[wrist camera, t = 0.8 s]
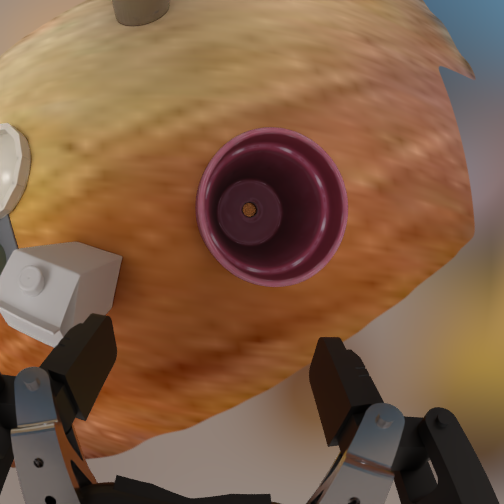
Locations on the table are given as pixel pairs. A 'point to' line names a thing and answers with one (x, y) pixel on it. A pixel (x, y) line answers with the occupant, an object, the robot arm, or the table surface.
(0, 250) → the olive bottle
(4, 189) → the bowl
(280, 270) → the plant pot
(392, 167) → the table surface
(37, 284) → the milk carton
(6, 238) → the mat
